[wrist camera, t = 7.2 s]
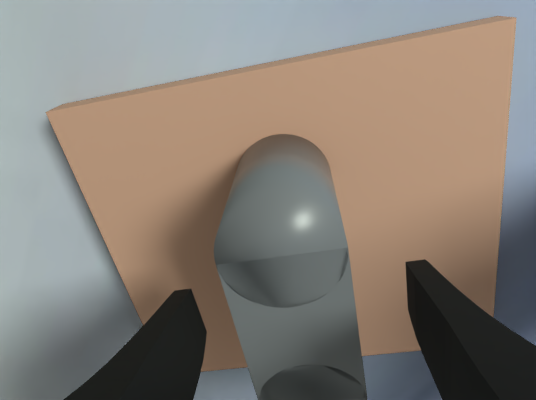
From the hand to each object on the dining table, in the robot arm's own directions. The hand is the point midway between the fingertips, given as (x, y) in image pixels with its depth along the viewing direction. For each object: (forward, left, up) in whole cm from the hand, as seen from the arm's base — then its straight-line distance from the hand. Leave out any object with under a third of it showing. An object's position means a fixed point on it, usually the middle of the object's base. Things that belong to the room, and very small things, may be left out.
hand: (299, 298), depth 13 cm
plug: (0, 0, -3) cm, 3 cm away
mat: (0, 0, -5) cm, 5 cm away
